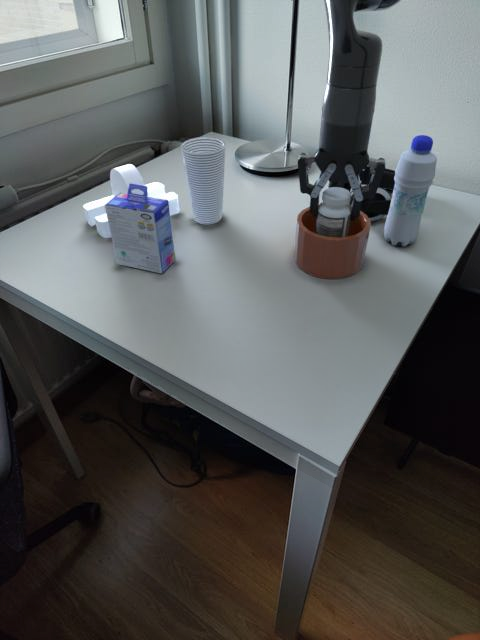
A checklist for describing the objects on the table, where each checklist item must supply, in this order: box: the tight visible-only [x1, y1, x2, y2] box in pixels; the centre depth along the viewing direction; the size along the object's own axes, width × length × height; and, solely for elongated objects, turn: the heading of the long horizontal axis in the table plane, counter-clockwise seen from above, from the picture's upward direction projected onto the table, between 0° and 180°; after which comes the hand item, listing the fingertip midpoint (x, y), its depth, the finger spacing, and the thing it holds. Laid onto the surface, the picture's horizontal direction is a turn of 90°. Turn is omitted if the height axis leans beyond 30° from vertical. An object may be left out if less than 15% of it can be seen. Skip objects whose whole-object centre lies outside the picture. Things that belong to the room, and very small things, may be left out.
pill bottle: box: [316, 187, 352, 238], centre depth 80 cm, size 6×6×10 cm
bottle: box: [383, 134, 438, 247], centre depth 83 cm, size 7×7×20 cm
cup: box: [180, 136, 226, 225], centre depth 93 cm, size 8×8×16 cm
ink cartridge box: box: [105, 184, 176, 274], centre depth 81 cm, size 10×6×14 cm, turn 70°
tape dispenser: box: [82, 163, 180, 239], centre depth 95 cm, size 10×18×11 cm, turn 127°
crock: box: [293, 205, 371, 280], centre depth 83 cm, size 13×13×8 cm
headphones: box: [327, 165, 395, 223], centre depth 99 cm, size 18×8×20 cm
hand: (333, 216), depth 80 cm, fingers closed on pill bottle, 5 cm apart
